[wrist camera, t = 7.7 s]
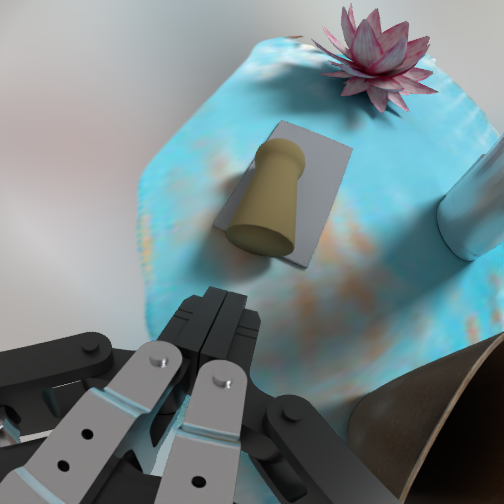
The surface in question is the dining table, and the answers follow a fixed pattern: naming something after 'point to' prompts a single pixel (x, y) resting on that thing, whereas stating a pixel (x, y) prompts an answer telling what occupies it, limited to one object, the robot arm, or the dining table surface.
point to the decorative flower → (379, 60)
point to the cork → (269, 201)
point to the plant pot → (438, 429)
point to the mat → (303, 187)
